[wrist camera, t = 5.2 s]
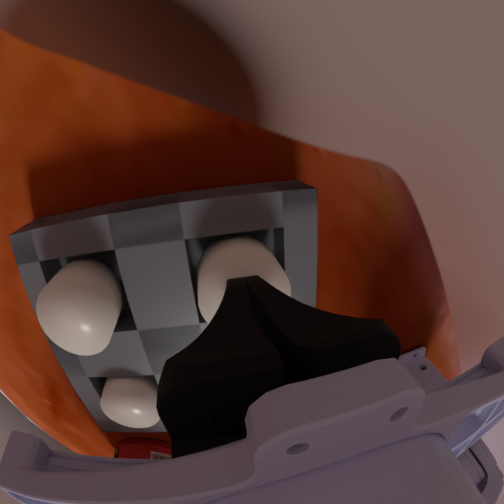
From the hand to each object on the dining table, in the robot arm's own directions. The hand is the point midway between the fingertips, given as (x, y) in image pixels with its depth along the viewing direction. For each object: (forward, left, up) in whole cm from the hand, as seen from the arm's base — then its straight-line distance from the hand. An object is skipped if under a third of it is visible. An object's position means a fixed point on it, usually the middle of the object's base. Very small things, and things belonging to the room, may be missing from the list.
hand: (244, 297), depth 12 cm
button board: (+4, +4, -5) cm, 7 cm away
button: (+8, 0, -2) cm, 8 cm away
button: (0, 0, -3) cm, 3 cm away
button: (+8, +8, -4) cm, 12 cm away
